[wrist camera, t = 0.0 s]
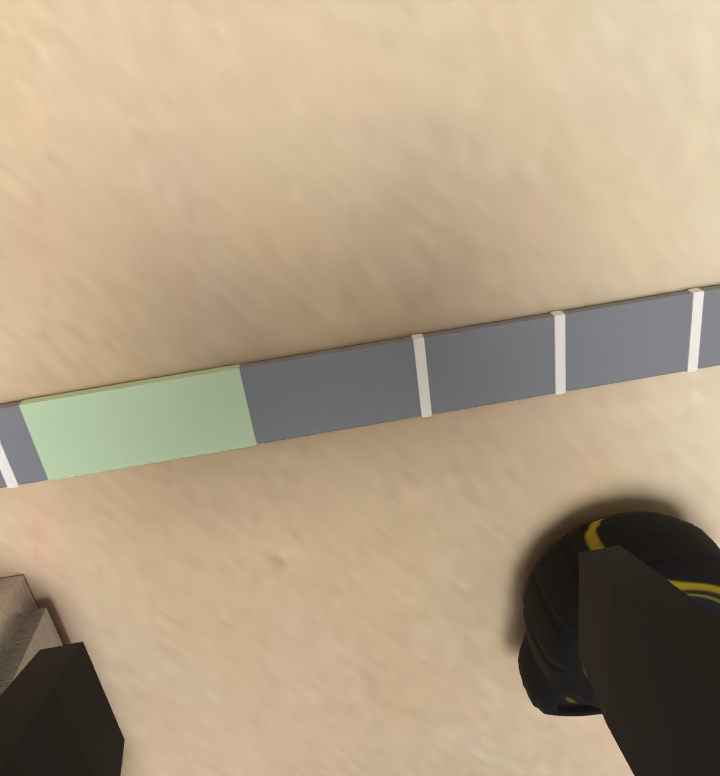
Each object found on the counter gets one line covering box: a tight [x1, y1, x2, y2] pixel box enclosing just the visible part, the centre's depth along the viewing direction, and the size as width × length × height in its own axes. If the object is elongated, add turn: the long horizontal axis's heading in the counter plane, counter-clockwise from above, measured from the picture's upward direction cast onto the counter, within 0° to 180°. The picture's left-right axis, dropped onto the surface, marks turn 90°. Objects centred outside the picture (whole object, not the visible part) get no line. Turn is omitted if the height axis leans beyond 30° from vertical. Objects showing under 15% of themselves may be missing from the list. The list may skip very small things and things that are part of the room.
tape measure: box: [518, 512, 720, 716], centre depth 22 cm, size 7×7×4 cm
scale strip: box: [0, 285, 720, 489], centre depth 19 cm, size 2×24×1 cm, turn 98°
